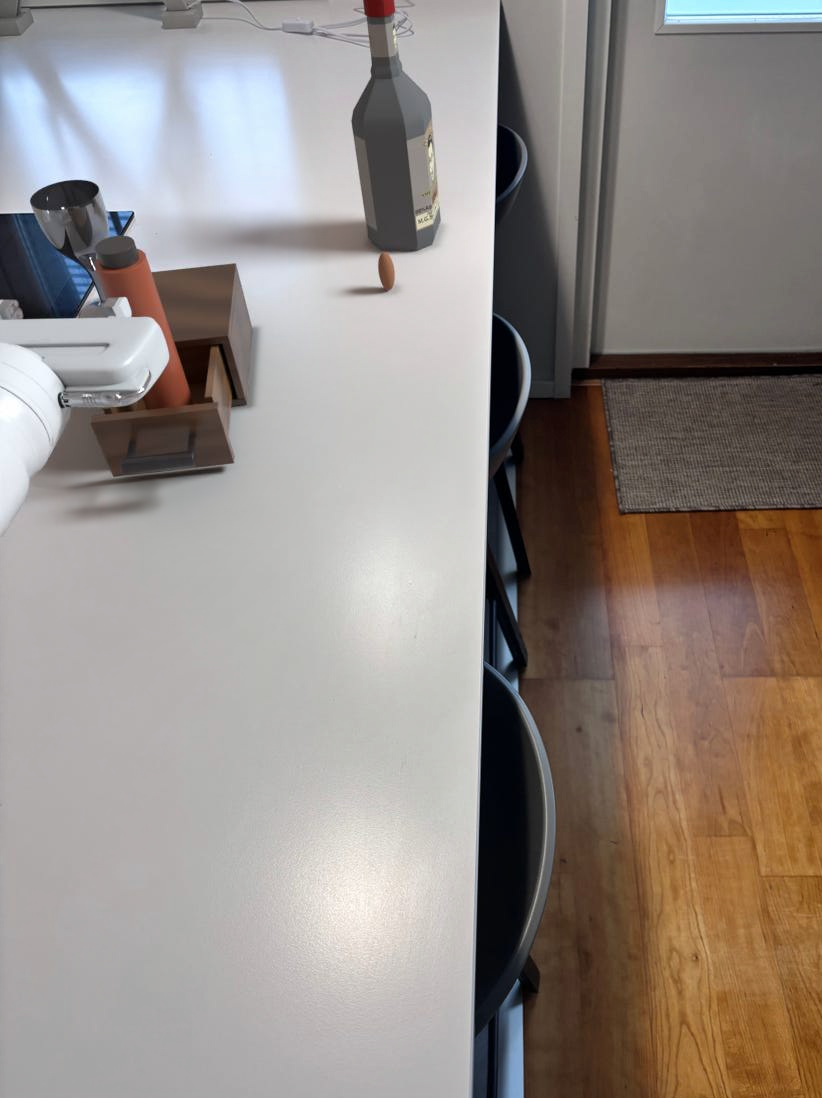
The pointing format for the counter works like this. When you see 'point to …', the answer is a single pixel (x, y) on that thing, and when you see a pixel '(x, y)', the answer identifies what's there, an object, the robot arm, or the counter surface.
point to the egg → (386, 271)
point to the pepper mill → (142, 312)
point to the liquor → (394, 145)
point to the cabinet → (210, 316)
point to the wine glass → (75, 227)
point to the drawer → (173, 422)
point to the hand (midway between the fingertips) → (66, 306)
